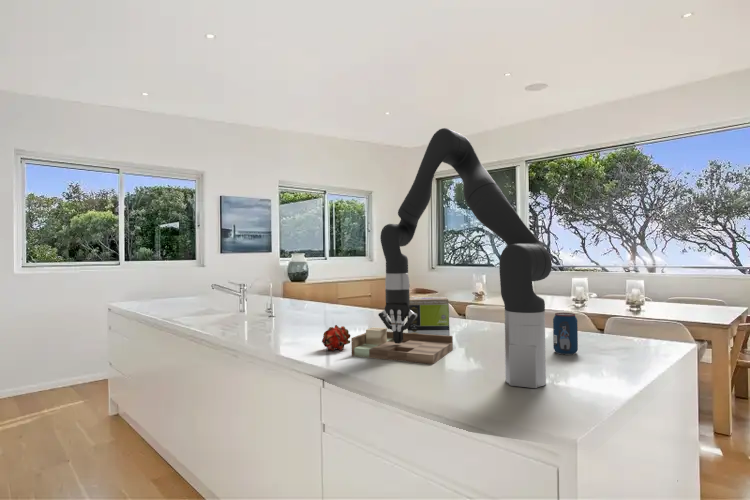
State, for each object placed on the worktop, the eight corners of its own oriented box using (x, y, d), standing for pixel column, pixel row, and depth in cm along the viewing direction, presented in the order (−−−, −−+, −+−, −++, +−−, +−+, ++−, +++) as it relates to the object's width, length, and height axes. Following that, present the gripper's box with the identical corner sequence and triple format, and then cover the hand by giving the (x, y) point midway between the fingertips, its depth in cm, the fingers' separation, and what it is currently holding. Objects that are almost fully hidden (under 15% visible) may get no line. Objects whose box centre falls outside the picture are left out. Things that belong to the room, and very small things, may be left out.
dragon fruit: (349, 351, 156) (328, 363, 146) (331, 334, 159) (309, 346, 149) (360, 332, 152) (339, 344, 142) (341, 316, 155) (319, 326, 145)
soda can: (570, 350, 146) (569, 312, 146) (582, 354, 139) (582, 315, 139) (549, 350, 145) (548, 312, 145) (560, 355, 138) (560, 315, 138)
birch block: (380, 345, 145) (380, 330, 145) (366, 343, 147) (365, 329, 147) (386, 342, 149) (386, 328, 149) (372, 341, 152) (372, 327, 152)
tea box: (448, 335, 174) (447, 296, 174) (449, 340, 164) (449, 299, 164) (408, 335, 175) (407, 296, 175) (407, 340, 165) (406, 299, 165)
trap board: (433, 363, 130) (433, 344, 130) (351, 356, 141) (351, 338, 141) (452, 349, 148) (452, 332, 148) (379, 343, 159) (378, 327, 159)
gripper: (373, 288, 144) (374, 343, 144) (413, 288, 139) (414, 346, 139) (382, 286, 151) (383, 339, 151) (421, 287, 146) (422, 342, 145)
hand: (398, 343), depth 145 cm, fingers closed
